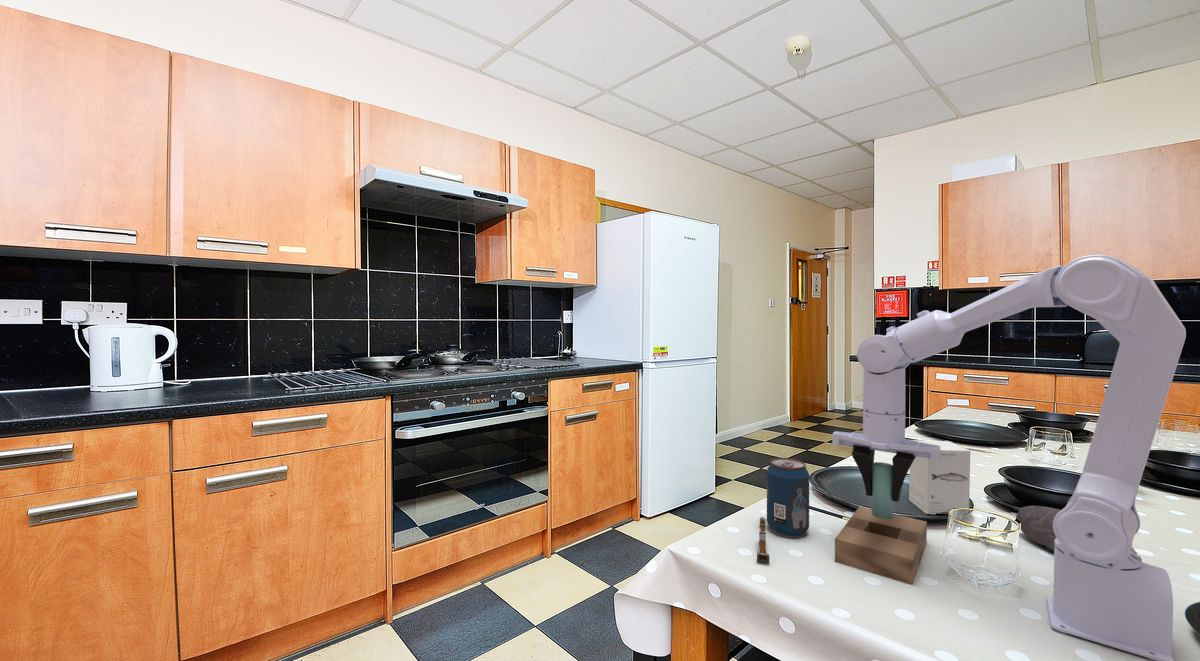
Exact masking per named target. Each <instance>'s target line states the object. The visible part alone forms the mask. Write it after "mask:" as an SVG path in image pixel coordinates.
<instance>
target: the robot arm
mask: <svg viewBox="0 0 1200 661" xmlns="http://www.w3.org/2000/svg"><path fill="white" fill-rule="evenodd" d="M1068 306H1069V307H1071V308H1072V309H1074V310H1077V311H1078V312H1080V313H1082V314H1085V315H1086V316H1089V317H1090V318H1093V319H1094V320H1096V321H1098V323H1099V324H1100V325H1101V326H1102V327H1103V328H1104V329H1105V330H1106V331H1107V332H1108V333H1109V334H1111V336H1112V337H1114V338H1115V339H1116V340H1117V341H1118V343H1119V347H1118V349H1117V353H1116V357H1115V360H1114V364H1113V367H1112V371H1111V373H1110V377H1109V381H1108V384H1107V387H1106V389H1105V390H1106V391H1105V394H1104V397H1103V401H1102V404H1101V408H1100V411H1099V414H1098V418H1097V421H1096V425H1095V428H1094V431H1093V435H1092V438H1091V442H1090V444H1089V449H1088V452H1087V454H1086V455H1087V456H1086V459H1085V462H1084V466H1083V469H1082V472H1081V475H1080V477H1079V480H1078V481H1077V483H1076V486H1075V489H1074V491H1073V494H1072V496H1070V498H1068V501H1067V504H1066V505H1065V507H1063V508H1062V509H1060V510H1061V511H1059V512H1058V513H1057V514H1056V516H1055V518H1054V521H1053V530H1054V533H1055V536H1056V537H1057V538H1055V540H1054V543H1055V545H1054V552H1053V556H1054V557H1053V595H1052V596H1048V595H1047V596H1046V604H1047V609H1048V615H1049V617H1048V618H1049V622H1050V627H1051V628H1052V629H1054V630H1055V631H1058V632H1061V633H1065V634H1068V635H1071V636H1074V637H1075V636H1076V637H1078V638H1082V639H1083V640H1088V641H1092V642H1095V643H1098V644H1102V645H1105V646H1109V647H1110V648H1115V649H1117V650H1121V651H1125V652H1128V653H1130V654H1134V655H1137V656H1141V657H1144V658H1148V659H1151V660H1155V661H1174V658H1173V623H1174V598H1173V597H1174V595H1173V588H1172V587H1173V586H1172V583H1171V579H1170V575H1169V574H1168V571H1167V570H1166V569H1164V568H1163V567H1162V568H1161V567H1159V566H1155V565H1153V564H1148V563H1146V562H1143V560H1142V559H1143V558H1142V557H1141V555H1138V552H1137V551H1136V550H1135V549H1134V547H1133V541H1134V538H1135V536H1136V535H1137V533H1138V532H1139V530H1140V528H1141V519H1140V515H1139V514H1138V510H1137V509H1136V498H1137V495H1138V492H1139V487H1140V484H1141V480H1142V477H1143V474H1144V471H1145V467H1146V464H1147V461H1148V458H1149V455H1150V451H1151V449H1152V446H1153V443H1154V439H1155V436H1156V433H1157V430H1158V427H1159V424H1160V421H1161V417H1162V415H1163V412H1164V411H1163V410H1164V408H1165V405H1166V402H1167V398H1168V395H1169V391H1170V388H1171V385H1172V382H1173V380H1174V377H1175V373H1176V370H1177V367H1178V363H1179V360H1180V357H1181V353H1182V350H1183V347H1184V344H1185V342H1186V341H1185V340H1186V338H1187V337H1186V336H1187V331H1186V329H1187V328H1186V327H1185V325H1183V322H1182V320H1181V319H1179V317H1178V315H1177V313H1176V312H1175V311H1174V310H1173V308H1172V307H1171V305H1170V304H1169V302H1168V301H1167V299H1166V298H1165V296H1164V295H1163V293H1162V292H1161V291H1160V288H1159V287H1158V286H1157V283H1156V282H1155V281H1154V280H1153V279H1152V278H1150V277H1149V276H1147V275H1146V274H1144V273H1143V272H1141V271H1140V270H1138V269H1137V268H1135V267H1134V266H1133V265H1131V264H1129V263H1128V262H1127V263H1126V262H1124V261H1123V260H1121V259H1120V258H1117V257H1114V256H1111V255H1108V254H1107V255H1106V254H1105V255H1104V254H1089V255H1084V256H1080V257H1077V258H1076V259H1073V260H1071V261H1070V262H1067V263H1066V264H1065V265H1064V266H1063V265H1062V266H1061V265H1056V266H1053V267H1050V268H1047V269H1044V270H1042V271H1039V272H1037V273H1034V274H1032V275H1029V276H1027V277H1024V278H1022V279H1019V280H1018V281H1016V282H1014V283H1012V284H1010V285H1007V286H1005V287H1004V288H1001V289H999V290H997V291H995V292H993V293H991V294H988V295H986V296H984V297H983V298H980V299H978V300H976V301H973V302H971V303H970V304H968V305H965V306H963V307H961V308H959V309H957V310H955V311H953V312H947V311H943V310H940V309H939V310H938V309H936V310H933V311H929V310H922V311H920V312H918V313H916V316H917V318H915V319H913V320H911V321H908V322H906V323H904V324H902V325H900V326H898V327H896V326H890V327H887V328H886V329H885V330H886V334H885V335H882V334H873V335H872V334H871V335H869V336H868V337H867V338H866V339H864V340H862V341H861V343H860V344H859V345H858V348H857V352H856V357H857V360H858V363H859V364H860V365H861V367H862V368H863V382H862V383H863V385H862V386H863V387H862V389H863V390H862V392H863V393H862V395H863V397H862V399H863V400H862V433H860V432H848V431H847V432H846V431H837V430H836V431H834V432H833V433H831V434H832V439H831V440H832V445H833V446H846V447H851V448H852V451H851V456H852V458H853V460H854V462H855V464H856V466H857V468H858V470H859V472H860V475H861V479H862V480H863V484H864V488H865V495H866V496H867V497H872V463H875V455H876V454H875V452H876V451H879V452H885V453H891V454H895V455H894V456H893V457H892V459H891V460H892V465H893V477H894V482H893V493H892V499H893V501H894V502H897V503H898V502H899V501H900V499H901V492H902V489H903V484H904V482H905V480H906V477H907V475H908V472H909V471H910V466H911V465H912V463H913V461H914V459H915V458H916V457H922V458H929V459H930V460H934V461H939V460H940V446H939V445H933V444H927V443H922V442H917V441H913V440H914V439H908V438H906V368H907V367H908V366H909V365H910V364H911V363H912V364H913V363H918V362H919V361H922V360H925V359H927V358H930V357H932V356H934V355H937V354H939V353H943V352H946V351H947V350H950V349H952V348H956V347H958V346H959V345H960V344H961V342H962V339H963V337H964V335H965V333H967V332H970V331H972V330H975V329H978V328H980V327H983V326H986V325H988V324H991V323H993V322H997V321H999V320H1002V319H1005V318H1007V317H1011V316H1013V315H1016V314H1018V313H1021V312H1024V311H1026V310H1029V309H1032V308H1066V307H1068Z"/></svg>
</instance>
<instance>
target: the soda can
mask: <svg viewBox="0 0 1200 661" xmlns="http://www.w3.org/2000/svg"><path fill="white" fill-rule="evenodd" d="M766 523H767V526H768V527H769V528H770V530H771V531H772V532H773V533H774V534H776V535H778V536H781V537H785V538H796V539H797V538H801V537H803V536H804V535H806V533H807V531H808V530H809V528H810V473H809V471H808V469H807V467H806V463H805V462H804V461H802V460H799V459H796V458H791V457H775V458H772V459H771V460H770V464H769V466H768V467H767V469H766Z"/></svg>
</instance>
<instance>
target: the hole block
mask: <svg viewBox="0 0 1200 661" xmlns="http://www.w3.org/2000/svg"><path fill="white" fill-rule="evenodd" d="M927 528H928V521H925V520H921V519H918V518H917V519H916V518H913V517H908V516H904V515H903V516H902V515H898V514H896V513H894V518H893V519H881V518H878V517H875V516H873V515H872V508H868V507H863V506H858V507H857V508H856V510H855V511H854V513H853V514H852V515H851V516H850V518H849V520H847V522H846V524H845V525H844V526H843V528H842V529H841V530H840V531H839V533H838V534H837V536H836V537H835V538H834V562H836V563H839V564H843V565H845V566H849V567H852V568H853V567H854V568H857V569H859V570H862V571H866V572H870V573H872V574H876V575H879V576H881V577H882V576H883V577H886V578H889V579H893V580H896V581H899V582H903V583H906V584H910V585H913V584H914V581H915V578H916V575H917V572H918V569H919V566H920V563H921V561H922V558H923V554H924V551H925V549H926V546H927V544H928V542H927V540H928V539H927V538H928V535H927V534H928V533H927V532H928V530H927Z"/></svg>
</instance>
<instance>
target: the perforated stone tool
mask: <svg viewBox="0 0 1200 661" xmlns="http://www.w3.org/2000/svg"><path fill="white" fill-rule="evenodd" d="M1061 510H1062V509H1059V508H1054V507H1049V506H1041V505H1028V506H1023V507H1021V508H1020V509H1019V511H1018V512H1017V513H1016V516H1015V520H1016V519H1017V520H1019V521H1020V523H1021V529H1020V530H1021V532H1022V533H1023V534H1024V535H1025V536H1026V537H1027V538H1028V539H1030V540H1031V541H1032V542H1034V543H1036V544H1038V545H1041V546H1045V547H1046V548H1047V550H1048V551H1051V552H1052V553H1054V545H1055V543H1054V540H1055V538H1057V537H1056V536H1055V533H1054V530H1053V521H1054V518H1055V516H1056V514H1057V513H1058V512H1059V511H1061Z"/></svg>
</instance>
